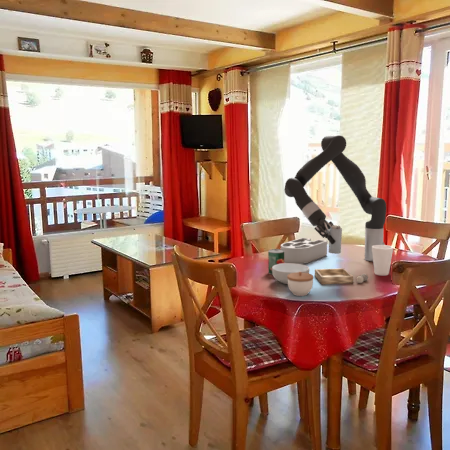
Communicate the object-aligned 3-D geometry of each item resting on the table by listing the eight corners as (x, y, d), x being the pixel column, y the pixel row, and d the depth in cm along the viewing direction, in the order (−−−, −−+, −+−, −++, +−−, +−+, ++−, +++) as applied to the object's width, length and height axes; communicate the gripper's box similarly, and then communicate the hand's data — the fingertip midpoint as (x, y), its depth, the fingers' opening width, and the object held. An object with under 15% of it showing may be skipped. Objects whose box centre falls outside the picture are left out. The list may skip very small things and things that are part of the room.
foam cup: (392, 271, 226) (393, 245, 224) (392, 276, 218) (393, 249, 216) (371, 270, 230) (372, 244, 228) (370, 275, 221) (371, 248, 219)
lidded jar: (284, 290, 201) (284, 269, 200) (309, 289, 202) (309, 268, 201) (290, 298, 191) (290, 275, 189) (316, 296, 192) (316, 274, 190)
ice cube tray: (327, 255, 264) (327, 240, 262) (301, 266, 243) (301, 249, 241) (301, 252, 274) (301, 237, 273) (274, 261, 253) (274, 246, 252)
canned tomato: (283, 275, 225) (283, 252, 224) (267, 274, 227) (267, 252, 225) (285, 270, 233) (285, 249, 231) (269, 270, 235) (269, 248, 233)
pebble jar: (339, 250, 217) (340, 223, 214) (341, 253, 211) (343, 226, 209) (327, 250, 217) (328, 223, 214) (329, 253, 211) (331, 226, 209)
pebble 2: (366, 279, 214) (366, 273, 214) (368, 281, 211) (369, 274, 210) (359, 280, 214) (359, 273, 213) (361, 282, 211) (362, 275, 210)
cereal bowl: (300, 289, 202) (300, 273, 201) (265, 284, 211) (265, 269, 210) (315, 280, 216) (315, 265, 215) (282, 275, 225) (281, 261, 224)
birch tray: (344, 274, 223) (344, 268, 223) (353, 283, 209) (353, 276, 209) (314, 275, 223) (314, 269, 222) (321, 284, 209) (321, 277, 208)
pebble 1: (362, 281, 211) (362, 275, 211) (364, 283, 208) (364, 276, 207) (355, 282, 211) (355, 275, 210) (357, 284, 208) (357, 277, 207)
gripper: (311, 210, 210) (335, 239, 205) (326, 206, 221) (349, 234, 216) (300, 220, 214) (324, 249, 209) (315, 217, 226) (338, 244, 220)
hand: (336, 241), depth 213 cm, fingers closed on pebble jar, 5 cm apart
